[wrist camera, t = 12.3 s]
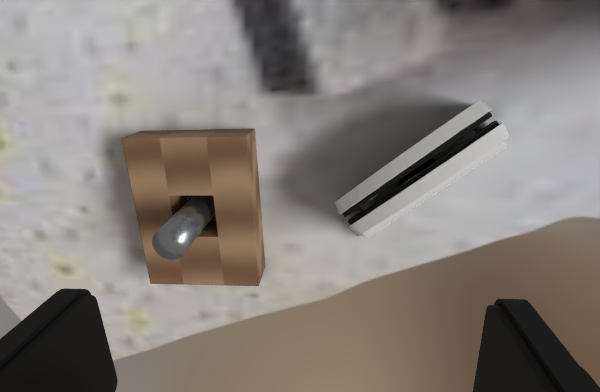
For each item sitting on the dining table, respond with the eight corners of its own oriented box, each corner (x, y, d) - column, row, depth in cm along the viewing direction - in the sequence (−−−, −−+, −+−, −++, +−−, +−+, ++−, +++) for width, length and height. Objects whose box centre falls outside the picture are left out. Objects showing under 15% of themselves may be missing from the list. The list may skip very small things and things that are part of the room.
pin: (192, 189, 41) (149, 228, 32) (218, 189, 41) (183, 228, 31) (195, 214, 42) (155, 259, 33) (221, 214, 42) (188, 260, 32)
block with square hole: (142, 131, 39) (121, 138, 35) (254, 128, 38) (245, 136, 34) (166, 264, 45) (150, 283, 41) (265, 266, 43) (258, 286, 40)
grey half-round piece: (366, 237, 41) (350, 258, 32) (341, 202, 42) (319, 212, 32) (507, 145, 36) (539, 136, 27) (477, 106, 37) (498, 84, 27)
